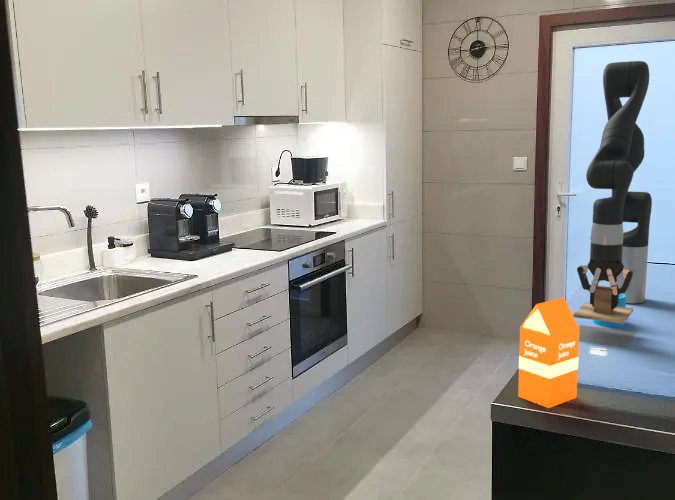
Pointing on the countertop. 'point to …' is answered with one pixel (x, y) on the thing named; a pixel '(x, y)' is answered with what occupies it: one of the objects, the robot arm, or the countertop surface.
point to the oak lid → (603, 308)
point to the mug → (612, 324)
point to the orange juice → (549, 354)
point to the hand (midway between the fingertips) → (603, 307)
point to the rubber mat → (605, 336)
